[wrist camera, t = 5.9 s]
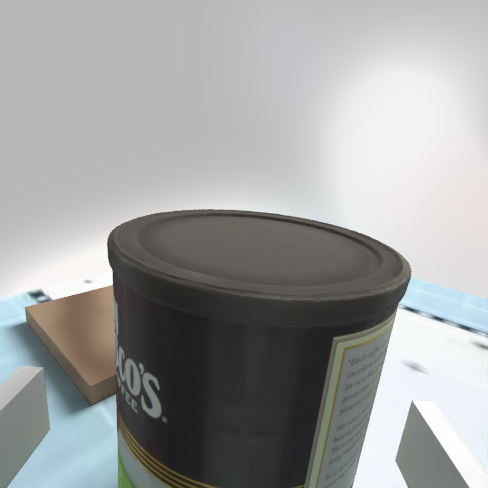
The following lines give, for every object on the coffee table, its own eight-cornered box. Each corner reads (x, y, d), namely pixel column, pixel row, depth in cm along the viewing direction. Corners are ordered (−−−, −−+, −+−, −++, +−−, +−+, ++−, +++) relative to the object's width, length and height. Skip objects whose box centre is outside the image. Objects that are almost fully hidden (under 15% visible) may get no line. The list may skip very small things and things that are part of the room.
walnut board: (192, 275, 44) (193, 265, 44) (271, 312, 35) (272, 300, 35) (26, 321, 30) (25, 307, 29) (91, 405, 21) (90, 386, 20)
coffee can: (113, 755, 9) (89, 315, 5) (119, 445, 18) (113, 206, 14) (390, 605, 13) (497, 280, 9) (278, 410, 22) (306, 211, 18)
